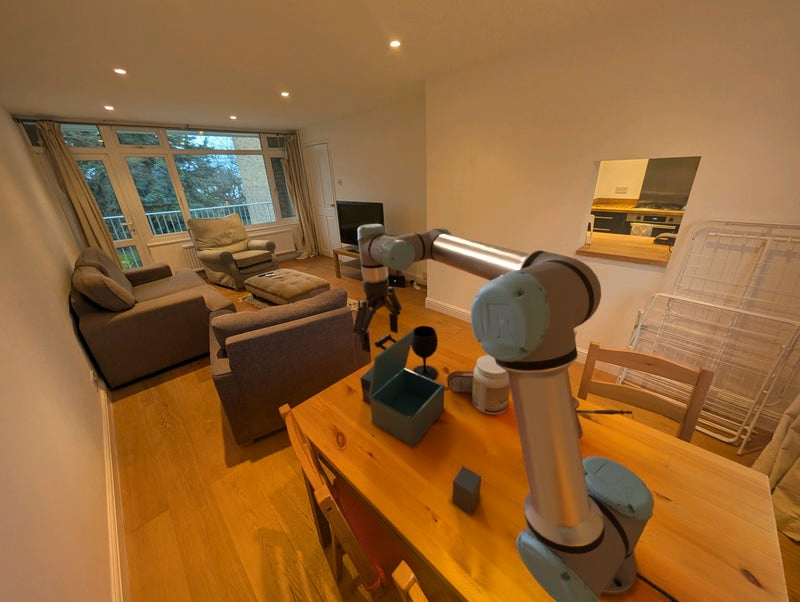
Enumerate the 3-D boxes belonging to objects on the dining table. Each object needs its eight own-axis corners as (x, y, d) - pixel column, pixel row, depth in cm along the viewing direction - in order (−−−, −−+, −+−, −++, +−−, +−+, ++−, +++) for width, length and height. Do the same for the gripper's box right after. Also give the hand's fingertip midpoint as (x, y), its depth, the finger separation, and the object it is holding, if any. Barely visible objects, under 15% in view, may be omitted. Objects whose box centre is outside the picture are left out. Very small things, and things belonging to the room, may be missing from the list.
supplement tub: (513, 402, 103) (519, 362, 96) (497, 422, 95) (502, 380, 88) (482, 386, 111) (485, 349, 104) (465, 404, 103) (467, 364, 96)
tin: (487, 388, 110) (488, 370, 106) (488, 394, 107) (490, 376, 103) (446, 387, 111) (446, 369, 108) (446, 393, 108) (447, 375, 105)
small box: (378, 383, 116) (376, 361, 112) (392, 388, 113) (390, 366, 108) (362, 400, 108) (359, 377, 103) (376, 406, 105) (374, 382, 100)
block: (479, 497, 74) (481, 476, 71) (470, 514, 70) (472, 493, 67) (461, 486, 77) (462, 465, 74) (452, 502, 73) (453, 481, 70)
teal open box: (443, 409, 101) (444, 385, 97) (412, 447, 88) (411, 420, 84) (405, 391, 111) (404, 367, 107) (372, 422, 98) (369, 397, 93)
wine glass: (409, 379, 117) (407, 336, 109) (415, 364, 126) (414, 323, 118) (434, 383, 114) (434, 339, 106) (439, 367, 123) (439, 326, 115)
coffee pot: (537, 439, 88) (544, 401, 82) (540, 413, 98) (547, 377, 91) (623, 469, 79) (639, 428, 73) (618, 437, 88) (632, 398, 82)
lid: (414, 330, 97) (399, 321, 99) (377, 358, 83) (361, 346, 86) (405, 367, 106) (392, 358, 109) (370, 397, 93) (356, 385, 96)
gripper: (392, 265, 97) (395, 322, 105) (334, 289, 79) (344, 355, 88) (410, 269, 93) (412, 327, 101) (353, 295, 75) (362, 363, 83)
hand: (381, 340), depth 94 cm, fingers open, 13 cm apart
